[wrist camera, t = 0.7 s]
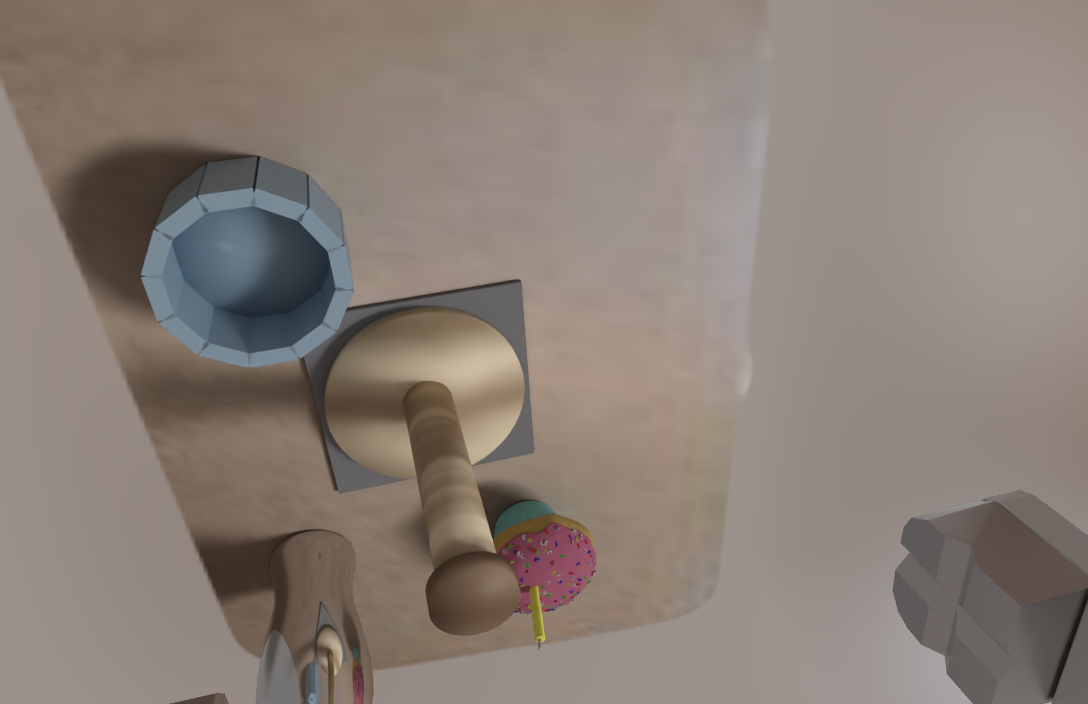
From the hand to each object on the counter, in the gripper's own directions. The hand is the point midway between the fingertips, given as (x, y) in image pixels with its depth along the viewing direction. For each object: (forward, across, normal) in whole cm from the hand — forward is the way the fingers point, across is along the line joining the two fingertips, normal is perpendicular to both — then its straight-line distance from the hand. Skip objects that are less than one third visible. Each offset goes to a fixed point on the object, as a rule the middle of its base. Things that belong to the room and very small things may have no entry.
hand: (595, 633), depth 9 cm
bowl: (+38, +8, +7) cm, 40 cm away
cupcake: (+41, -6, +33) cm, 53 cm away
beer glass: (+41, +10, +32) cm, 53 cm away
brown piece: (+39, 0, +19) cm, 44 cm away
